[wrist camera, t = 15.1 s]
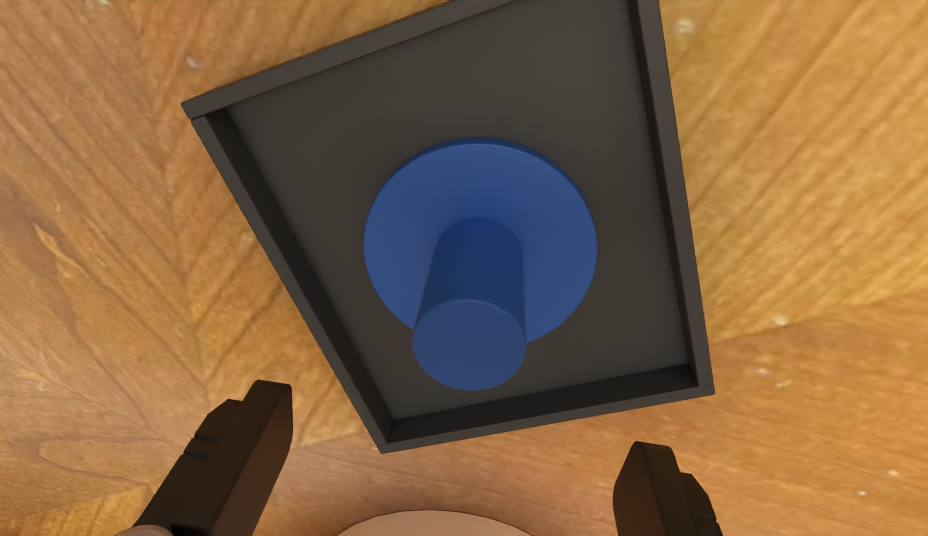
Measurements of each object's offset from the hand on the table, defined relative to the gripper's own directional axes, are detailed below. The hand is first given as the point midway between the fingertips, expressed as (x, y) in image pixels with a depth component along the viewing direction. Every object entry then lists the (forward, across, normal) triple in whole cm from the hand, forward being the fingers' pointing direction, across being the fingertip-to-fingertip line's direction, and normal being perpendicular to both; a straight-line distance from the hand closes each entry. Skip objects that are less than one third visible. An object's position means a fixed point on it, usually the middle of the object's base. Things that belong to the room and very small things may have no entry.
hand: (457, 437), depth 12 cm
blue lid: (+10, 0, 0) cm, 10 cm away
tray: (+10, 0, 0) cm, 11 cm away
